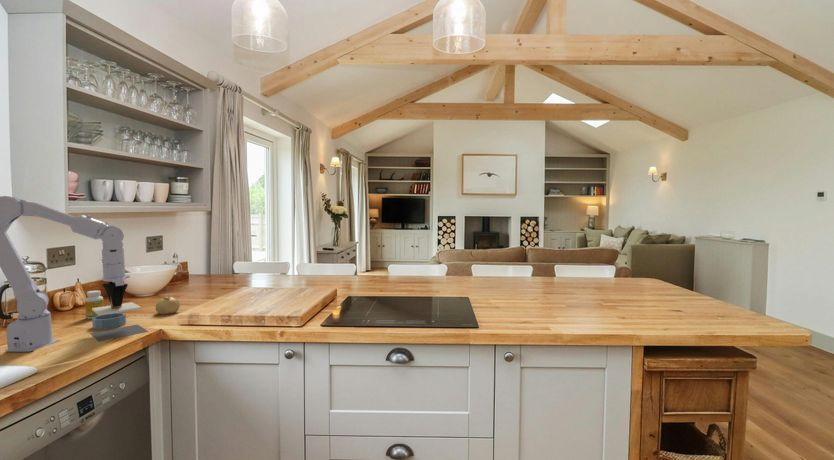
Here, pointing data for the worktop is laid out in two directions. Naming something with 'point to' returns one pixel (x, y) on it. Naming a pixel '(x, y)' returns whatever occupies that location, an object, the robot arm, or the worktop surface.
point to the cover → (115, 308)
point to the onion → (167, 305)
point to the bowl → (109, 321)
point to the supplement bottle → (93, 303)
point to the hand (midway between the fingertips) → (116, 305)
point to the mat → (118, 332)
